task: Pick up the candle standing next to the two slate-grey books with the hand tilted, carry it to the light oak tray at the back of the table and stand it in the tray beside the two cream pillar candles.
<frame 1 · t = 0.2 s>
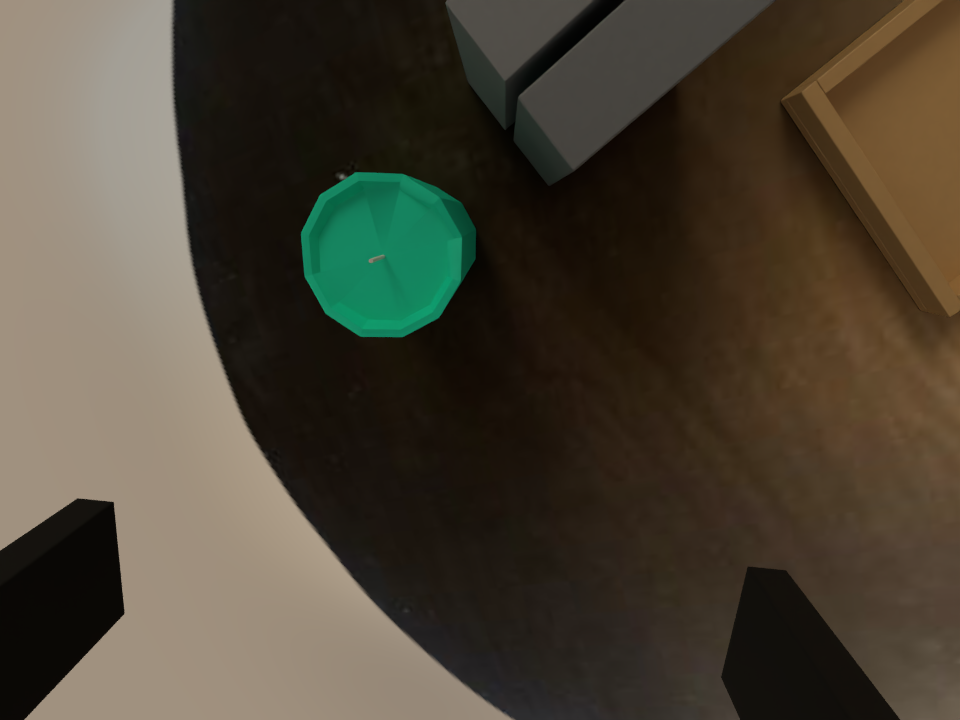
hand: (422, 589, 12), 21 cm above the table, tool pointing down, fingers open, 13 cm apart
grey book 1: (548, 49, 28), on the table
candle: (422, 242, 31), on the table
grey book 2: (593, 109, 28), on the table
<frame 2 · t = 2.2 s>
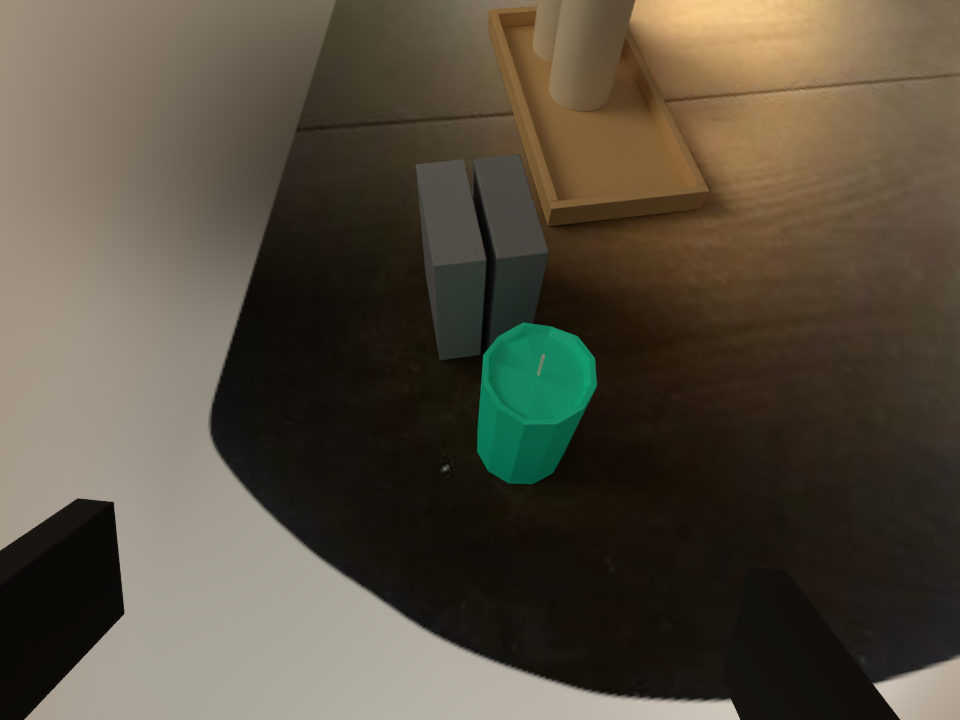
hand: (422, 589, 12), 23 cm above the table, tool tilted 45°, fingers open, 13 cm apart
grey book 1: (451, 312, 43), on the table
cream candle b: (579, 91, 55), point 1 cm above the table, touching tray
tray: (583, 110, 54), on the table
cream candle a: (561, 46, 58), point 1 cm above the table, touching tray
candle: (520, 442, 38), on the table
grey book 2: (498, 306, 43), on the table
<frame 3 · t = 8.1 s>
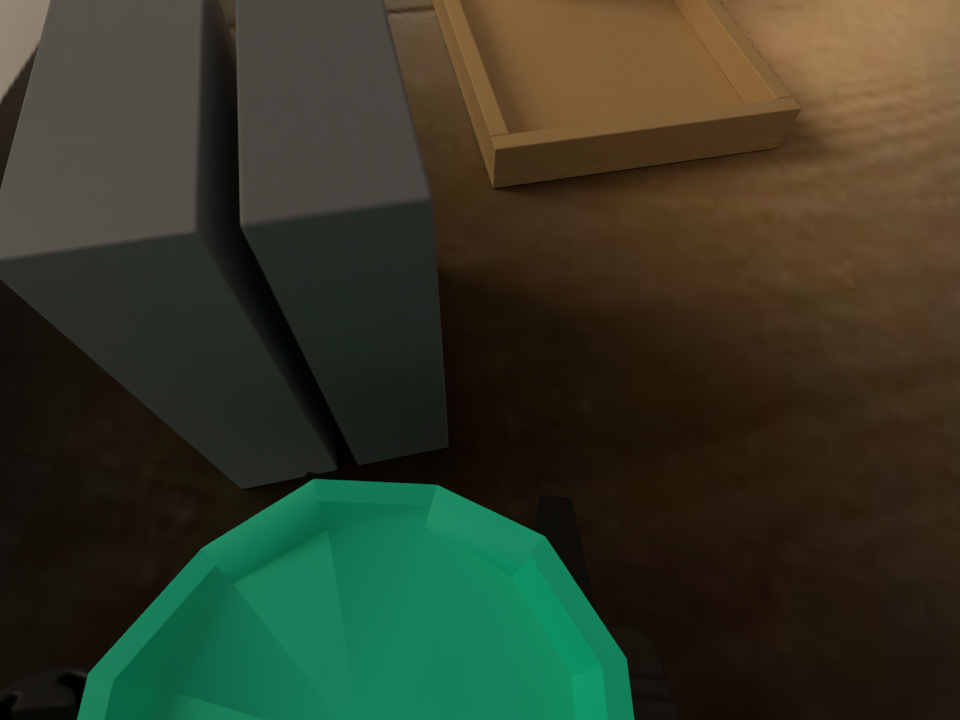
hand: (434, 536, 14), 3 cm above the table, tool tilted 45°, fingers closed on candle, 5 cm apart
grey book 1: (284, 371, 20), on the table
candle: (422, 709, 15), on the table, touching gripper
grey book 2: (386, 352, 20), on the table
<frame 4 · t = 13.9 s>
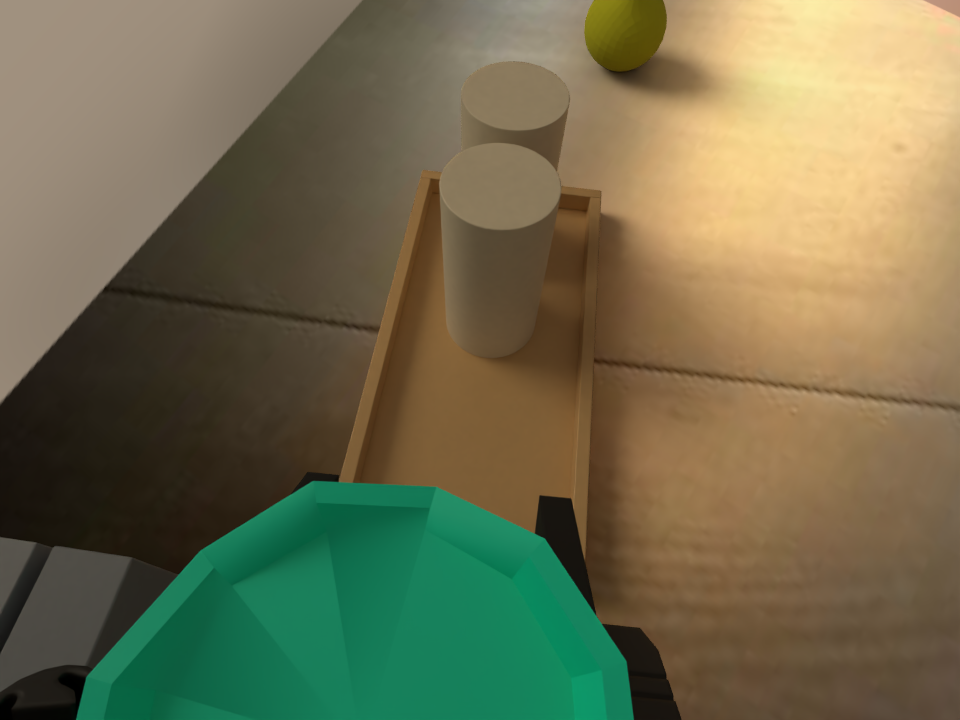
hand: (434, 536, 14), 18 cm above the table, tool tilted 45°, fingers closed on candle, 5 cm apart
grey book 1: (111, 667, 28), on the table
cream candle b: (490, 319, 38), point 1 cm above the table, touching tray
ornament: (615, 66, 54), on the table
tray: (486, 349, 38), on the table
cream candle a: (502, 241, 42), point 1 cm above the table, touching tray
candle: (422, 711, 15), point 15 cm above the table, touching gripper
grey book 2: (181, 679, 28), on the table
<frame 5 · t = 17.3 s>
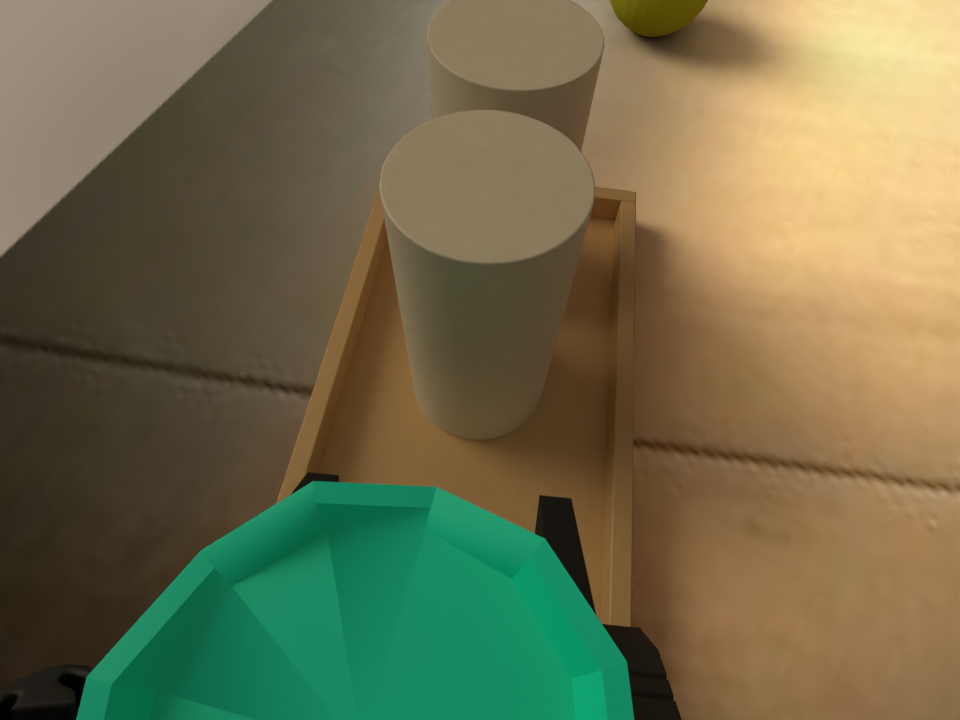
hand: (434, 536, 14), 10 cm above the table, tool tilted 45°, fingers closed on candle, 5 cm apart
cream candle b: (478, 379, 26), point 1 cm above the table, touching tray
ornament: (646, 31, 42), on the table
tray: (471, 424, 26), on the table
cream candle a: (497, 262, 30), point 1 cm above the table, touching tray
candle: (422, 711, 15), point 6 cm above the table, touching gripper
when the fingers open (4 cm above the table, at t = 19.6 s): candle stays where it is, resting on tray.
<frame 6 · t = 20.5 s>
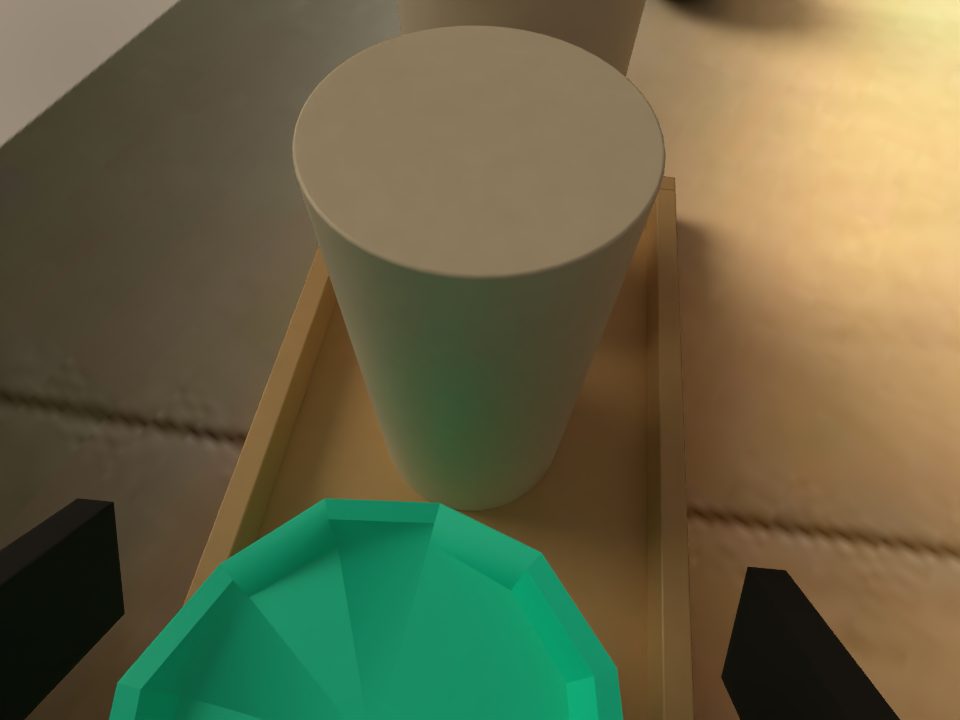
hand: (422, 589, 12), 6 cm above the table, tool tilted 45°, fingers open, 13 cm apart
cream candle b: (472, 424, 20), point 1 cm above the table, touching tray
tray: (463, 485, 19), on the table
cream candle a: (498, 267, 23), point 1 cm above the table, touching tray
candle: (424, 712, 15), resting on tray
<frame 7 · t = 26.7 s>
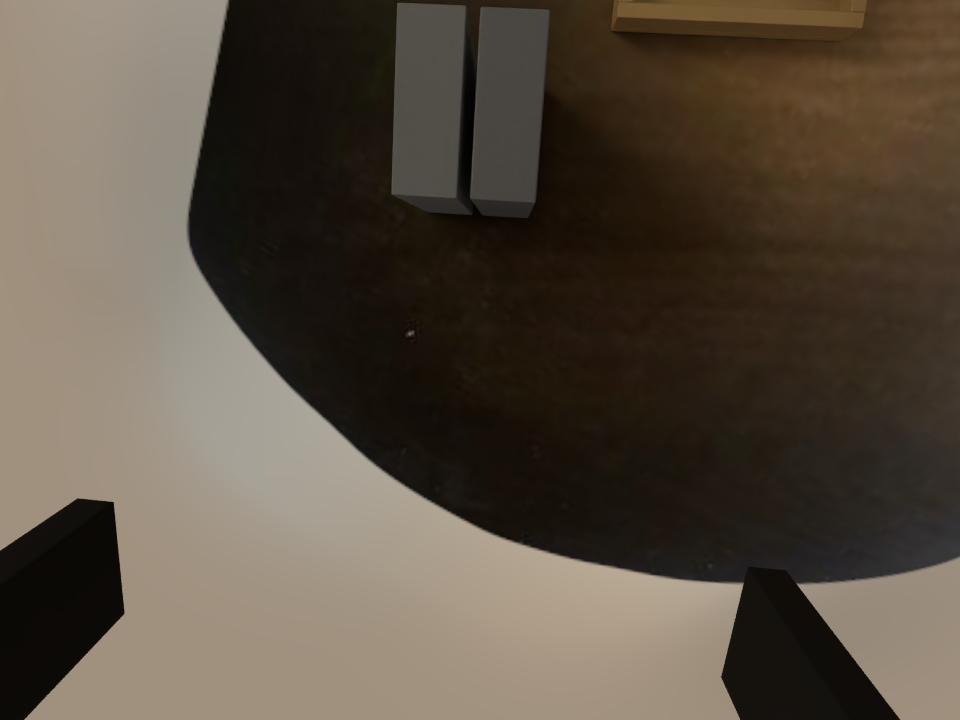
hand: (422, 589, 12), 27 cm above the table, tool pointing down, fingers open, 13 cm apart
grey book 1: (452, 148, 36), on the table
grey book 2: (509, 151, 36), on the table
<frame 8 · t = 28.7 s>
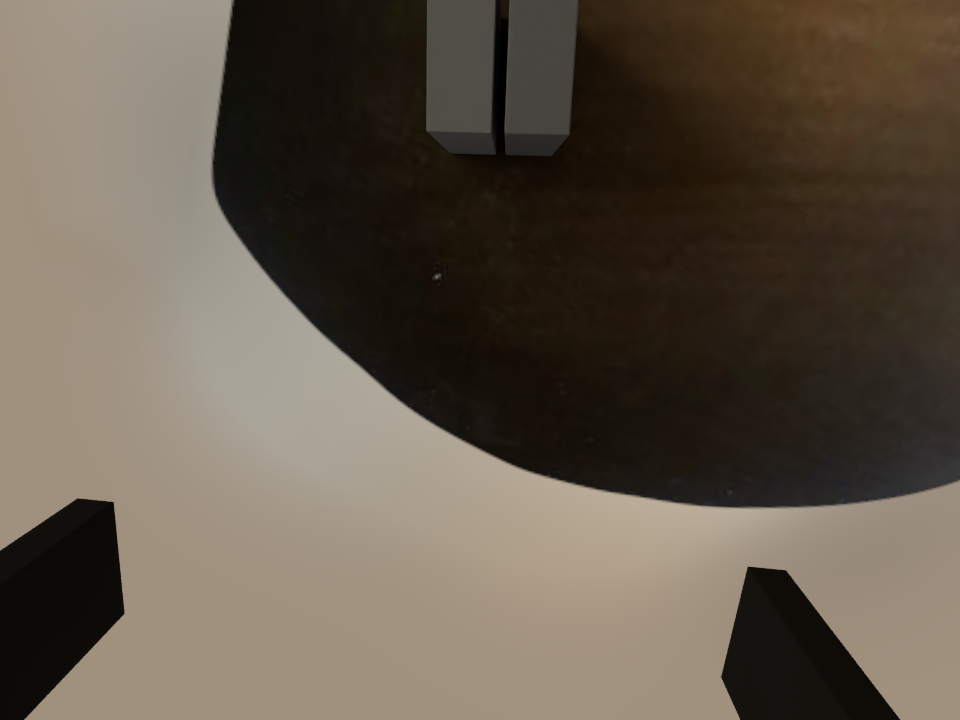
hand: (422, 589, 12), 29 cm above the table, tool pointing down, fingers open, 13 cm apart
grey book 1: (474, 86, 36), on the table
grey book 2: (532, 88, 35), on the table
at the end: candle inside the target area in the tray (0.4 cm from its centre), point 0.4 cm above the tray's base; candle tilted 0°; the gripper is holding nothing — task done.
